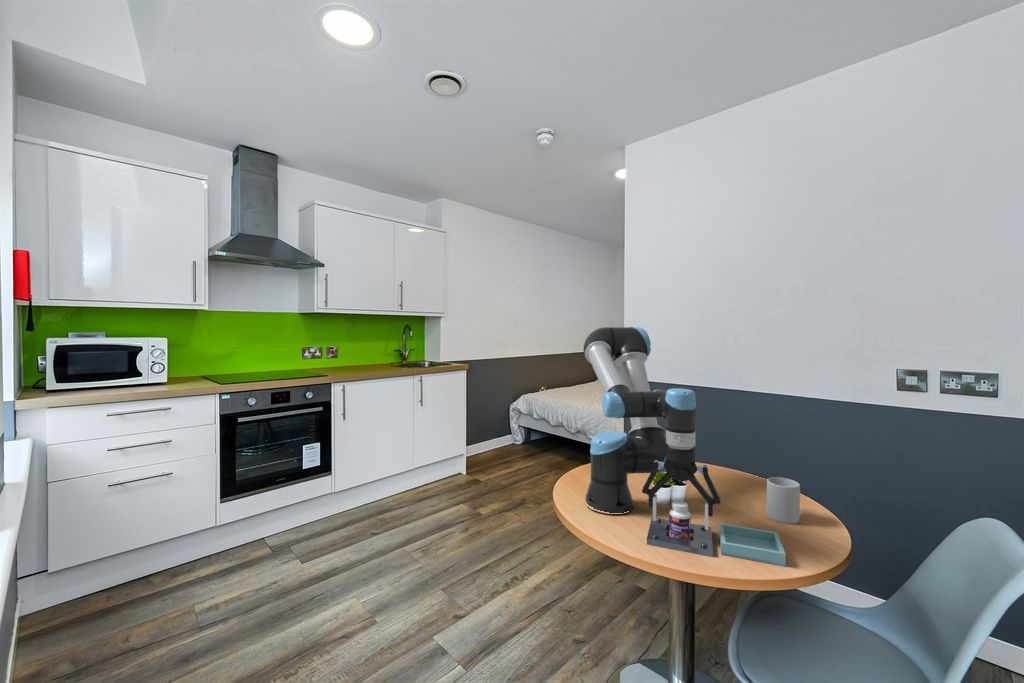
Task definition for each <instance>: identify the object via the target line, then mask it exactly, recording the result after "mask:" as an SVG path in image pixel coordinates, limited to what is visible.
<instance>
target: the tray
mask: <svg viewBox="0 0 1024 683" xmlns="http://www.w3.org/2000/svg"><path fill="white" fill-rule="evenodd" d="M718 538H719V548H720V555H722V556H726V557H732V558H738V559H744V560H749V561H753V562H760V563H764V564H770V565H775V566H781V567H786V566H787V565H786V562H787V554H786V552H785V549H784V546H783V543H782V542H781V538H780V536H779V534H778V532H777V531H770V530H766V529H760V528H759V529H758V528H754V527H748V526H747V527H746V526H741V525H740V526H739V525H736V524H735V525H734V524H728V523H722V522H719V523H718Z"/></svg>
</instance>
